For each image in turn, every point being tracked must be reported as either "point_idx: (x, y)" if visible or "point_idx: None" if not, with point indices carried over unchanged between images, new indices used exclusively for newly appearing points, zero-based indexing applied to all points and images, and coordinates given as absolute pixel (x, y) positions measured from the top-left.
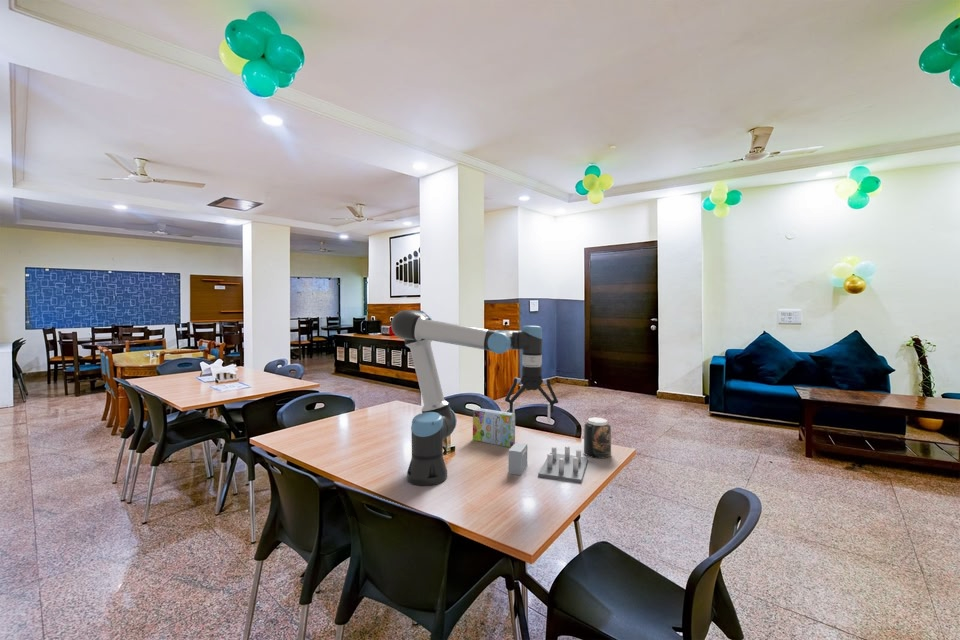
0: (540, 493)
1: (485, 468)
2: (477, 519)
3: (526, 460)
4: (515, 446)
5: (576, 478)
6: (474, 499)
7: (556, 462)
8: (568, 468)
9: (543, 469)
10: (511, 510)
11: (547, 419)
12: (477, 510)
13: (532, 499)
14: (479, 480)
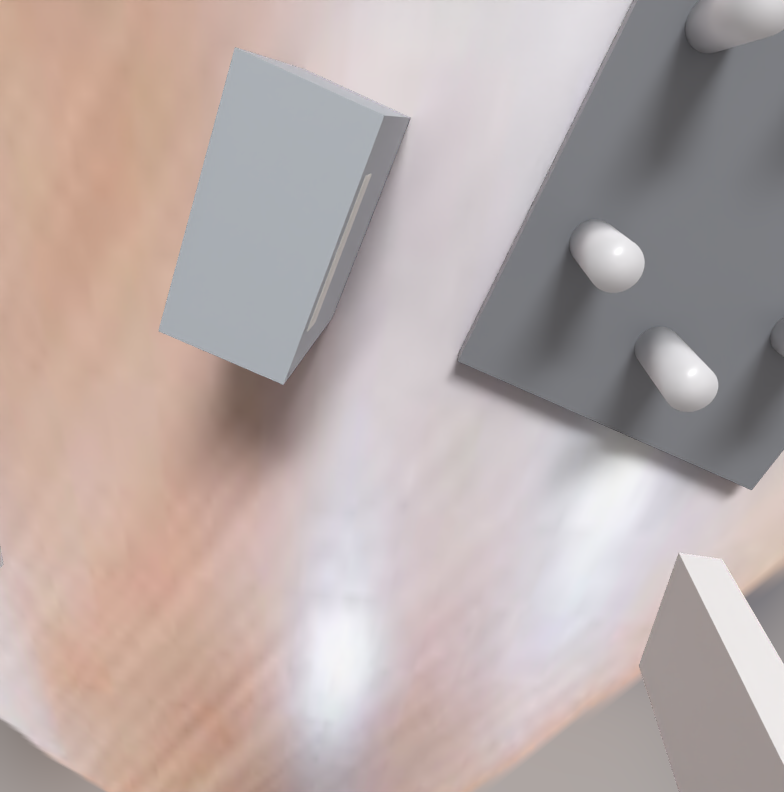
0: (419, 578)
1: (54, 170)
2: (112, 739)
3: (390, 153)
4: (231, 209)
5: (725, 469)
6: (68, 598)
7: (704, 119)
8: (756, 277)
9: (520, 288)
10: (250, 702)
11: (681, 563)
12: (100, 684)
13: (362, 630)
14: (50, 386)
